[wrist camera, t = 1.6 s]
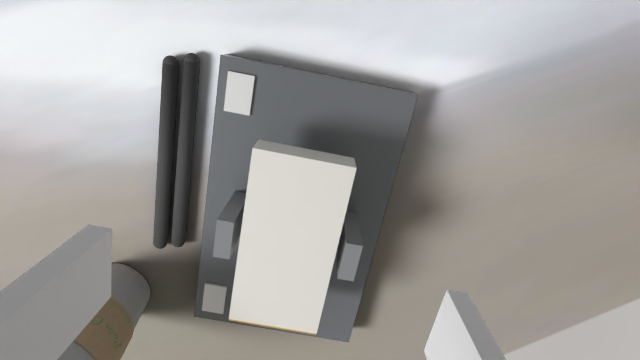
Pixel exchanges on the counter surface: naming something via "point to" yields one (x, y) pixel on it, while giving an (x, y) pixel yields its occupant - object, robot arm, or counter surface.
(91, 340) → the coffee cup
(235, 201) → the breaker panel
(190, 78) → the cords
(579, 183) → the counter surface
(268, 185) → the plate
